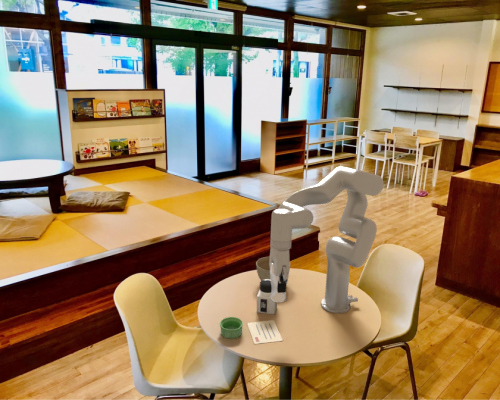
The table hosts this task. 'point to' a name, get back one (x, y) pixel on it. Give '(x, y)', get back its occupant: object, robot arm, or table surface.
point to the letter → (264, 332)
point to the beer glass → (274, 284)
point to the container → (265, 298)
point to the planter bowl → (264, 268)
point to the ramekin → (231, 327)
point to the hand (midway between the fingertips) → (278, 287)
